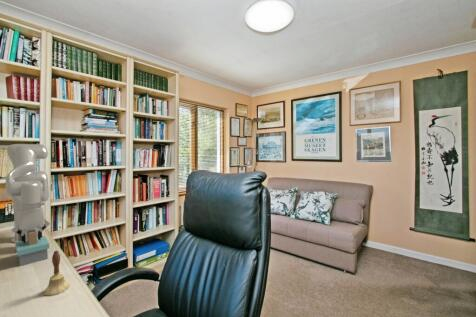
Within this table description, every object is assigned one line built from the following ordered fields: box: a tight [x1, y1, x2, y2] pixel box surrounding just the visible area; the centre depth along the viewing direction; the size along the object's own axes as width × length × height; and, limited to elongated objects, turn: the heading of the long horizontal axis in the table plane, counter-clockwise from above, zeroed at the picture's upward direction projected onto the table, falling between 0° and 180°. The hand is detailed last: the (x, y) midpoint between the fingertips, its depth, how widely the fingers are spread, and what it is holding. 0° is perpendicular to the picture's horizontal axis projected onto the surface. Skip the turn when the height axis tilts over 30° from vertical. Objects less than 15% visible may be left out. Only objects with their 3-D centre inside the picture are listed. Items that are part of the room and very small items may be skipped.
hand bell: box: [42, 250, 70, 297], centre depth 91 cm, size 8×8×16 cm
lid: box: [14, 229, 50, 257], centre depth 117 cm, size 15×12×8 cm
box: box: [17, 249, 49, 267], centre depth 117 cm, size 14×10×7 cm
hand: (32, 240), depth 117 cm, fingers open, 5 cm apart
